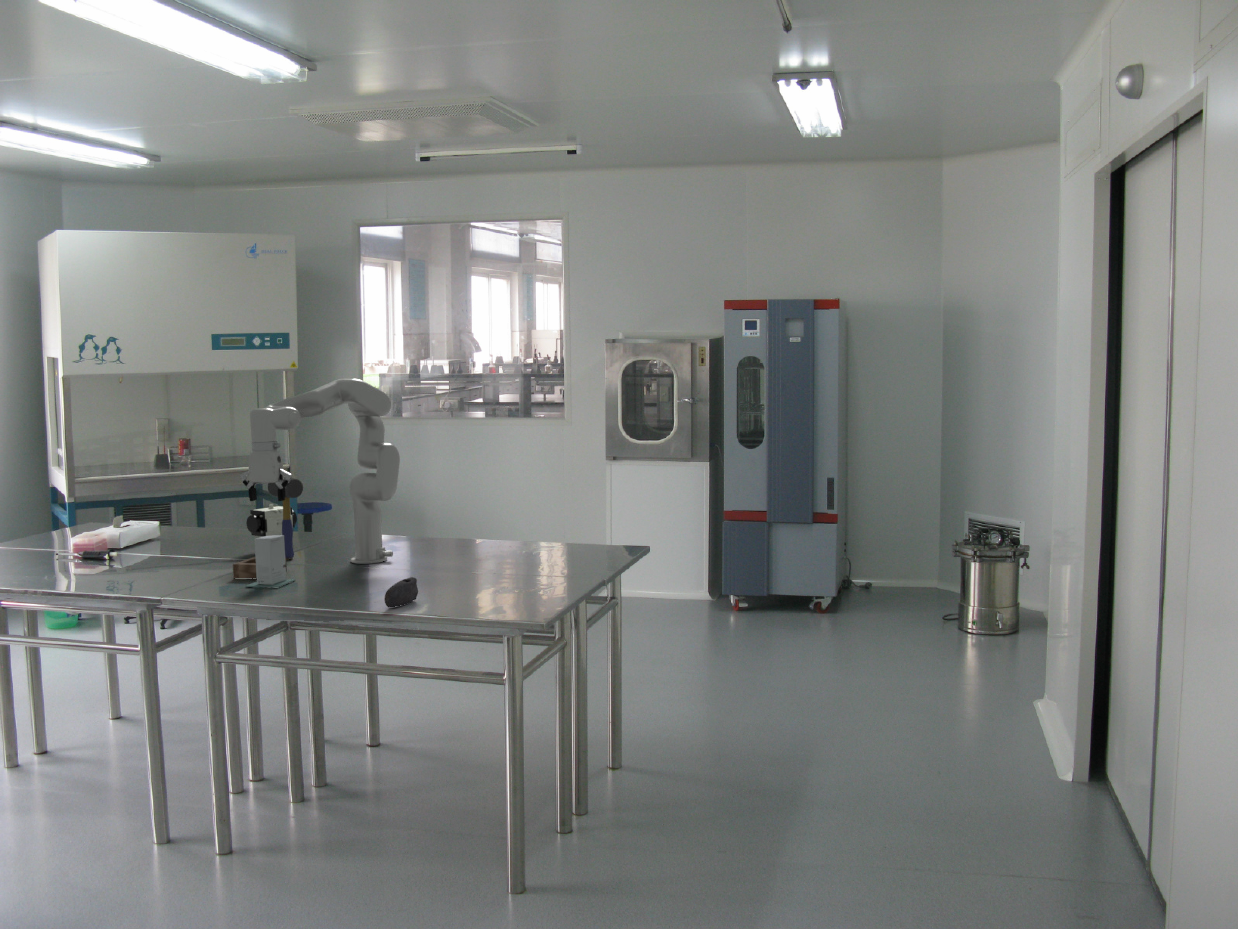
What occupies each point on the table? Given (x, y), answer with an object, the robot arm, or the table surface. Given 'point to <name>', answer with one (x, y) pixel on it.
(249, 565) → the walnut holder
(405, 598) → the perforated stone tool
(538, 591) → the table surface
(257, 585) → the rubber mat
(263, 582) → the skincare box
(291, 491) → the rubber mallet
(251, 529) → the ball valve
